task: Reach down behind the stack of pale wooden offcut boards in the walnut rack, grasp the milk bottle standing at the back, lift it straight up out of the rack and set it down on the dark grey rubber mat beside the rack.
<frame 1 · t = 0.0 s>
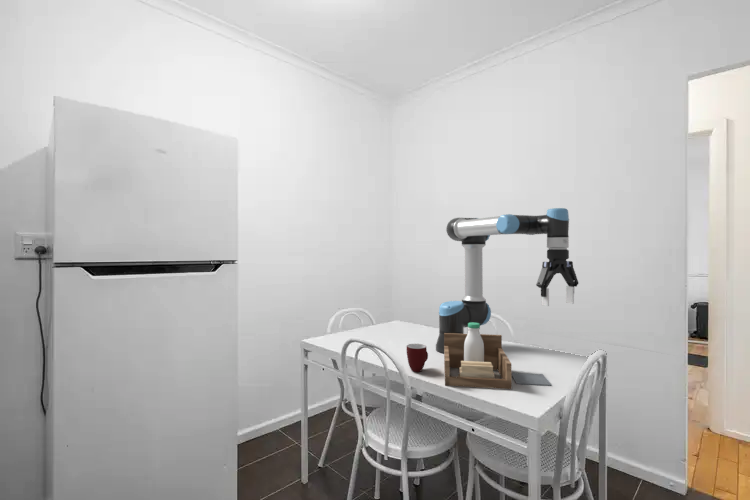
hand: (557, 304, 144), 28 cm above the table, fingers open, 13 cm apart
milk bottle: (474, 374, 149), on the table
offcut top: (476, 370, 139), point 4 cm above the table
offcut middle: (476, 377, 139), point 2 cm above the table, touching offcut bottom
mug: (418, 370, 154), on the table
rack: (475, 377, 145), on the table
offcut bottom: (476, 384, 139), on the table, touching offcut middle
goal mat: (529, 379, 142), on the table
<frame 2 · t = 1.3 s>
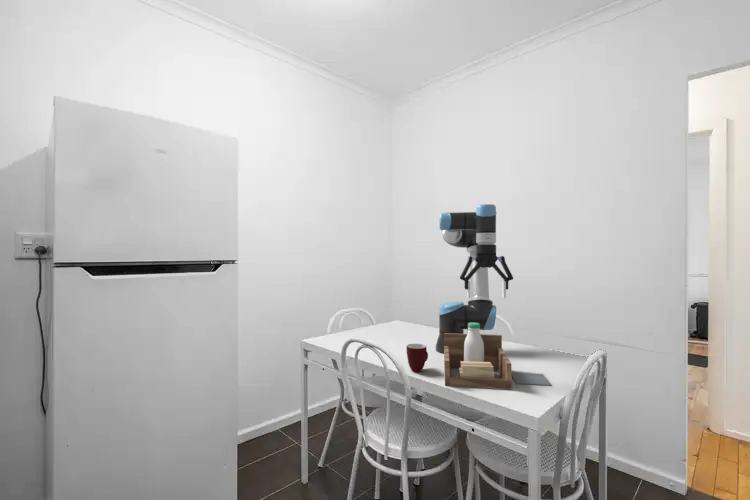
hand: (486, 297, 148), 30 cm above the table, fingers open, 13 cm apart
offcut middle: (476, 377, 139), point 2 cm above the table
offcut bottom: (476, 384, 139), on the table
everything else where it was.
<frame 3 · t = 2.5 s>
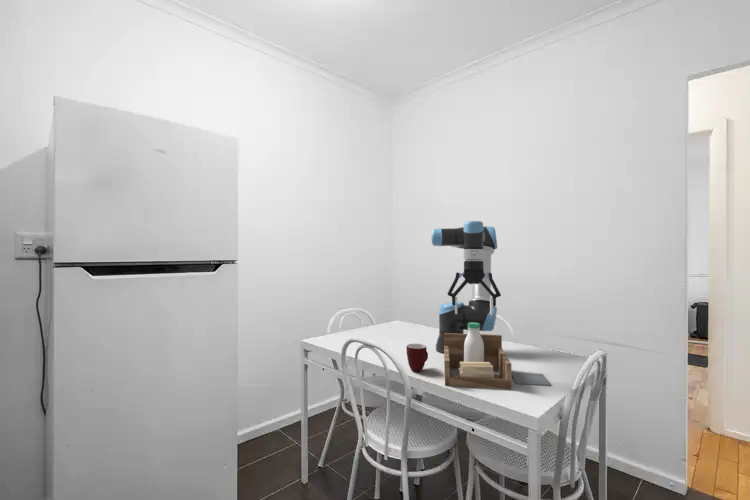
hand: (473, 314, 148), 24 cm above the table, fingers open, 13 cm apart
offcut top: (476, 370, 139), point 4 cm above the table, touching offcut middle
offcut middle: (475, 377, 139), point 2 cm above the table, touching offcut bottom, offcut top
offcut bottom: (476, 384, 139), on the table, touching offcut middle
everything else where it was.
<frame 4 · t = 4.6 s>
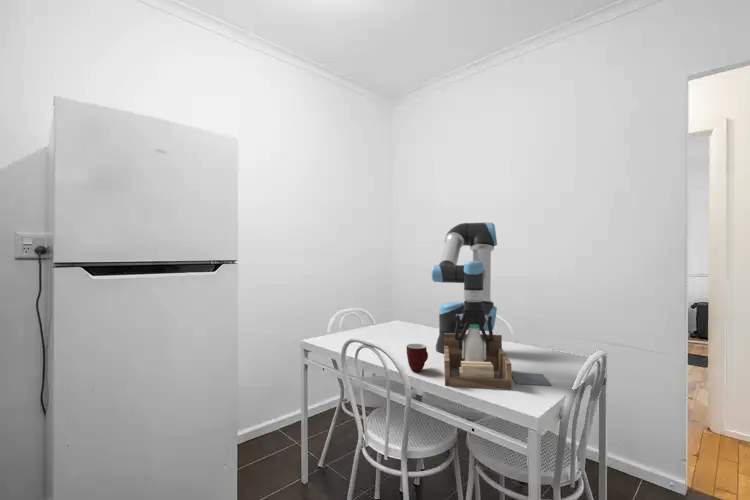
hand: (473, 358, 148), 6 cm above the table, fingers closed on milk bottle, 7 cm apart
milk bottle: (474, 374, 149), on the table, touching gripper
everything else where it was.
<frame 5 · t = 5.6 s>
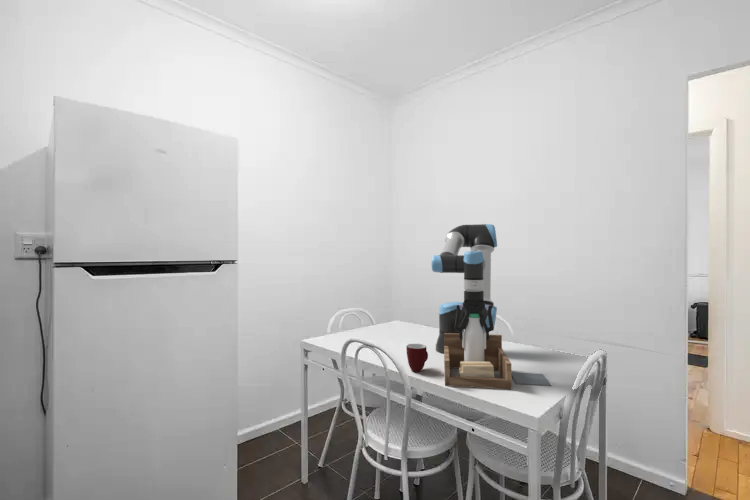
hand: (474, 347, 149), 10 cm above the table, fingers closed on milk bottle, 7 cm apart
milk bottle: (474, 363, 149), point 4 cm above the table, touching gripper
everything else where it was.
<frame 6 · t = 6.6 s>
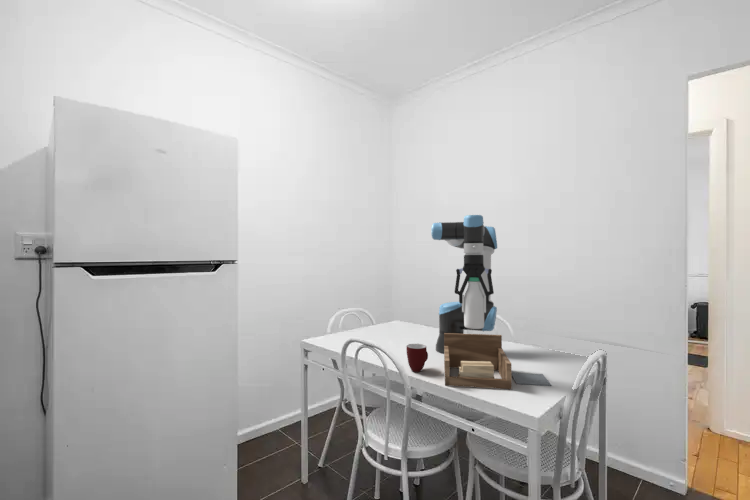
hand: (473, 311, 149), 24 cm above the table, fingers closed on milk bottle, 7 cm apart
milk bottle: (474, 327, 149), point 18 cm above the table, touching gripper
everything else where it was.
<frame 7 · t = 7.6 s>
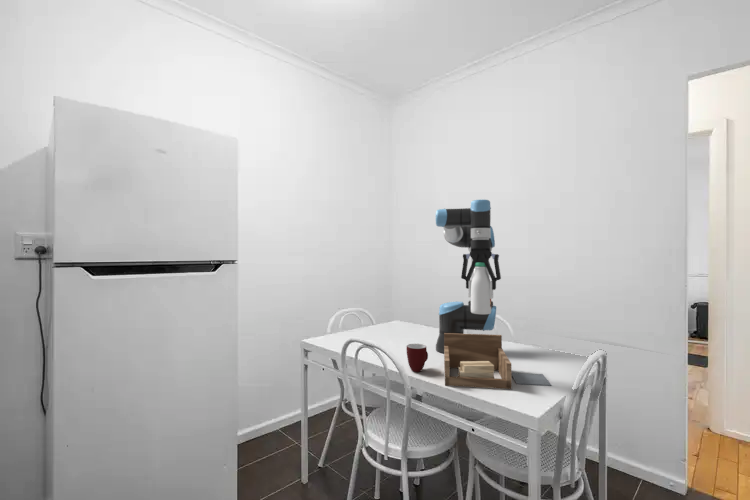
hand: (480, 297, 147), 30 cm above the table, fingers closed on milk bottle, 7 cm apart
milk bottle: (480, 313, 147), point 24 cm above the table, touching gripper
everything else where it was.
when the fingers open (7 cm above the table, at t = 12.2 s): milk bottle stays where it is, resting on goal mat.
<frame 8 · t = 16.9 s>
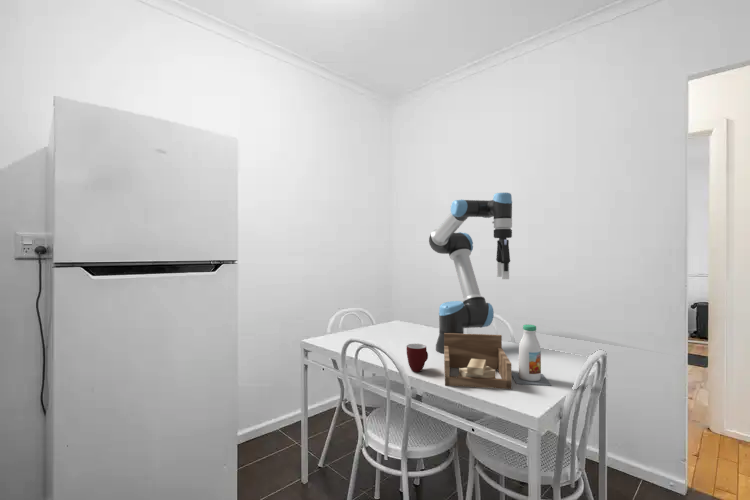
hand: (502, 278, 162), 37 cm above the table, fingers open, 13 cm apart
milk bottle: (529, 378, 142), resting on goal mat
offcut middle: (477, 376, 140), point 2 cm above the table, touching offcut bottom, offcut top
at the end: milk bottle inside the target area on the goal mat (0.1 cm from its centre), point 0.2 cm above the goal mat's base; milk bottle tilted 0°; the gripper is holding nothing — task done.
